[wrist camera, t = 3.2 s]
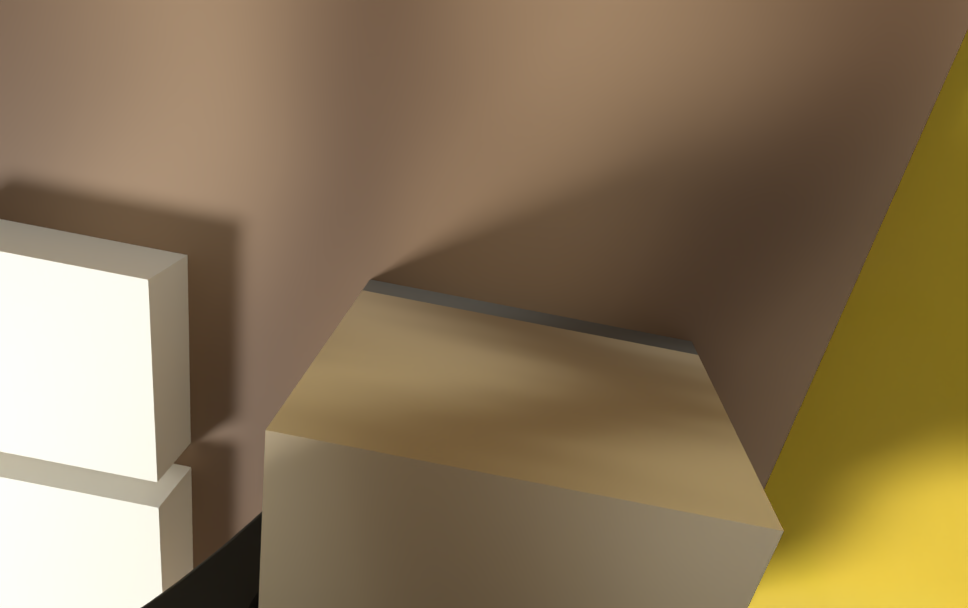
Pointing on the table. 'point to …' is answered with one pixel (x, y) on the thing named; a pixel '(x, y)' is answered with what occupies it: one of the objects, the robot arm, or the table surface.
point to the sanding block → (506, 467)
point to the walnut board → (474, 175)
